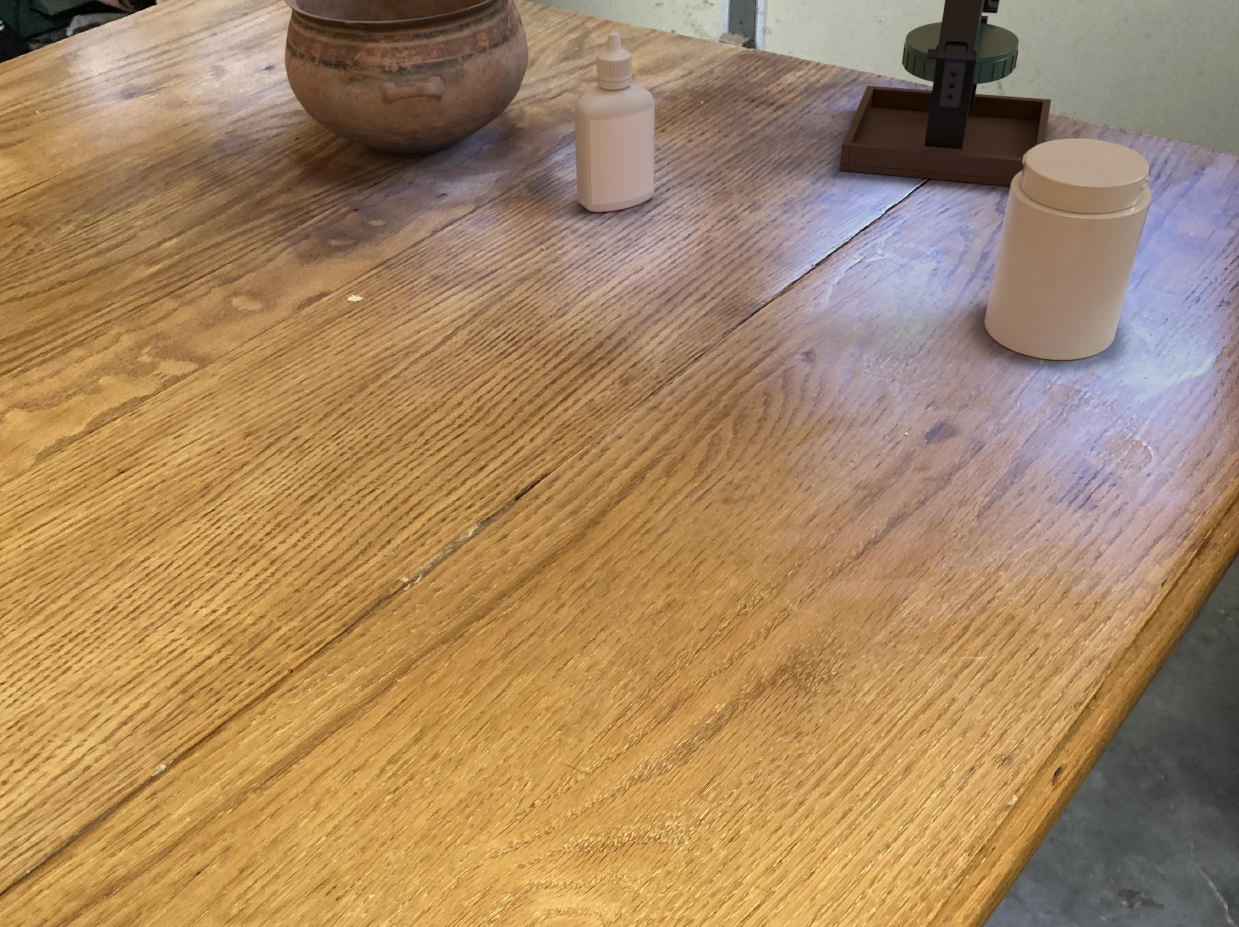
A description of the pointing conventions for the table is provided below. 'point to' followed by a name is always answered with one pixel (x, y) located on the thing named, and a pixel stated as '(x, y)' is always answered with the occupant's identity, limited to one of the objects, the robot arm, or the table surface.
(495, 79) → the cooking pot
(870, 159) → the tray
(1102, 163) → the jam jar
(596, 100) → the eye dropper bottle
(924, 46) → the jar lid
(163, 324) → the table surface
